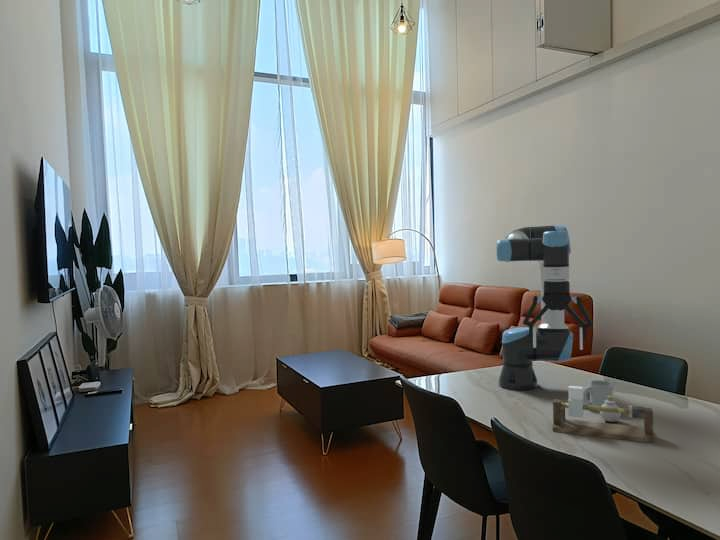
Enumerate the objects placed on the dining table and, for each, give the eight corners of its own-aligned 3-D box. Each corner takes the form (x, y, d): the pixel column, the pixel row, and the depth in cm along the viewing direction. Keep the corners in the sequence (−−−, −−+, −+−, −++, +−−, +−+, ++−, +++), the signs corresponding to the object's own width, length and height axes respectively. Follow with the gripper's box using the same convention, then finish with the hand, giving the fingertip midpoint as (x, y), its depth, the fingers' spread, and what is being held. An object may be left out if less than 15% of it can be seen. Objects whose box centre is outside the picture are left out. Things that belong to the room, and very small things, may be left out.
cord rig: (552, 431, 154) (552, 402, 153) (555, 421, 162) (554, 394, 161) (654, 443, 142) (653, 412, 142) (651, 432, 150) (650, 403, 150)
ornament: (624, 424, 157) (623, 393, 156) (599, 424, 158) (599, 393, 157) (616, 418, 163) (615, 387, 162) (592, 418, 164) (592, 387, 163)
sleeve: (568, 416, 153) (568, 388, 153) (569, 411, 158) (569, 384, 157) (582, 417, 152) (582, 390, 151) (583, 412, 156) (582, 385, 156)
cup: (616, 412, 169) (616, 385, 168) (586, 412, 170) (585, 386, 169) (608, 405, 176) (607, 380, 175) (578, 405, 177) (578, 380, 176)
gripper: (513, 281, 157) (514, 348, 158) (601, 281, 147) (602, 352, 148) (516, 279, 164) (517, 343, 165) (600, 279, 154) (601, 347, 155)
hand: (557, 348), depth 157 cm, fingers open, 13 cm apart
